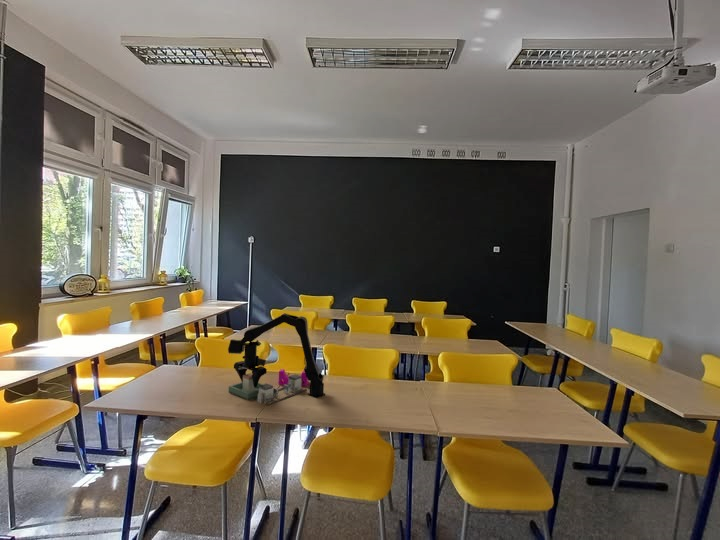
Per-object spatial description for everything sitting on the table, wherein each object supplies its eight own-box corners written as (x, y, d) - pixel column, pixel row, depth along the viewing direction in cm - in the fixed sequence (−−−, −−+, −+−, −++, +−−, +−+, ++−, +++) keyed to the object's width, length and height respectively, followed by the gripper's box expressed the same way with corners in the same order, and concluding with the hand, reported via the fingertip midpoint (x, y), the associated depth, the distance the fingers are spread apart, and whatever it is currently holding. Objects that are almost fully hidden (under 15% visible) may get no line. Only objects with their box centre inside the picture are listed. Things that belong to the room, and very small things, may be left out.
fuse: (255, 391, 180) (256, 375, 180) (248, 393, 176) (248, 377, 176) (250, 388, 182) (250, 373, 182) (242, 391, 179) (242, 375, 179)
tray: (269, 392, 180) (269, 386, 180) (247, 400, 170) (248, 393, 170) (250, 385, 189) (250, 379, 189) (228, 392, 178) (228, 386, 178)
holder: (306, 390, 186) (307, 376, 185) (266, 405, 164) (267, 390, 164) (292, 385, 192) (292, 372, 192) (251, 399, 170) (252, 385, 170)
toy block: (308, 382, 198) (309, 369, 197) (306, 386, 191) (307, 372, 191) (281, 381, 198) (281, 367, 198) (278, 385, 192) (279, 371, 192)
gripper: (275, 354, 180) (274, 385, 180) (251, 348, 191) (250, 377, 191) (257, 358, 171) (256, 391, 171) (233, 351, 182) (232, 382, 182)
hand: (249, 385), depth 179 cm, fingers open, 9 cm apart
